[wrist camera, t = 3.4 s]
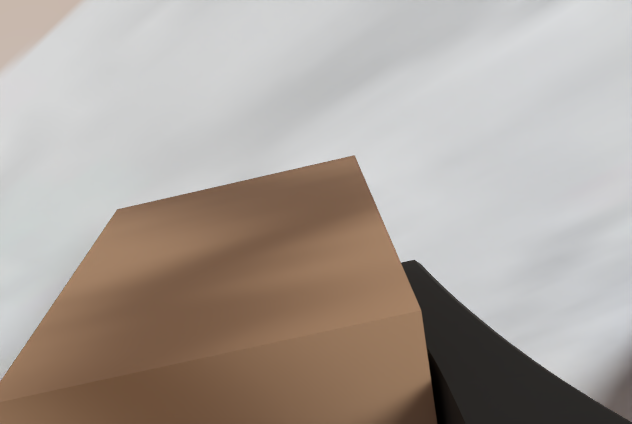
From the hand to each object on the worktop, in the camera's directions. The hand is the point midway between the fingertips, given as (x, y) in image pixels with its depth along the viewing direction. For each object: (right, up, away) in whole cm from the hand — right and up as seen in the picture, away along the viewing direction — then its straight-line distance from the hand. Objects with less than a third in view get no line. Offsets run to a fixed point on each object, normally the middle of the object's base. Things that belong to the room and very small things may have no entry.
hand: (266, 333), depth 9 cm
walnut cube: (0, +1, +1) cm, 2 cm away
